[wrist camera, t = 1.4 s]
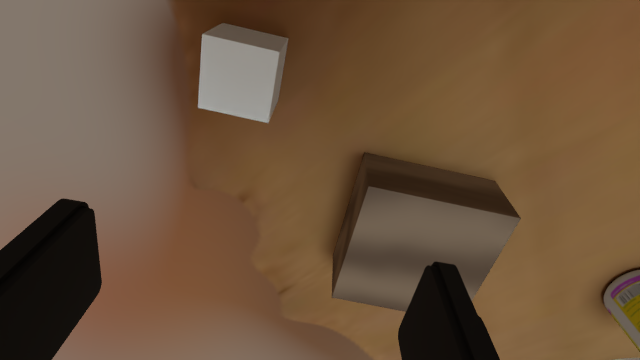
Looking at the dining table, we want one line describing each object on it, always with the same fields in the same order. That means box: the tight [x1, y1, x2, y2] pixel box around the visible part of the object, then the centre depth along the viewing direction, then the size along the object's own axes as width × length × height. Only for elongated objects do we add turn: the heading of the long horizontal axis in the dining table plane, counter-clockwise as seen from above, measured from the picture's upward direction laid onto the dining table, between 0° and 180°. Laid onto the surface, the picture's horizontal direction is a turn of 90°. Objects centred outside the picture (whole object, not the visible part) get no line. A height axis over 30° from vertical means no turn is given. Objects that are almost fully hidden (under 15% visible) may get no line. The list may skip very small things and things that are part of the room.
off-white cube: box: [198, 23, 288, 123], centre depth 28 cm, size 5×5×5 cm
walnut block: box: [332, 153, 521, 312], centre depth 34 cm, size 12×12×6 cm
